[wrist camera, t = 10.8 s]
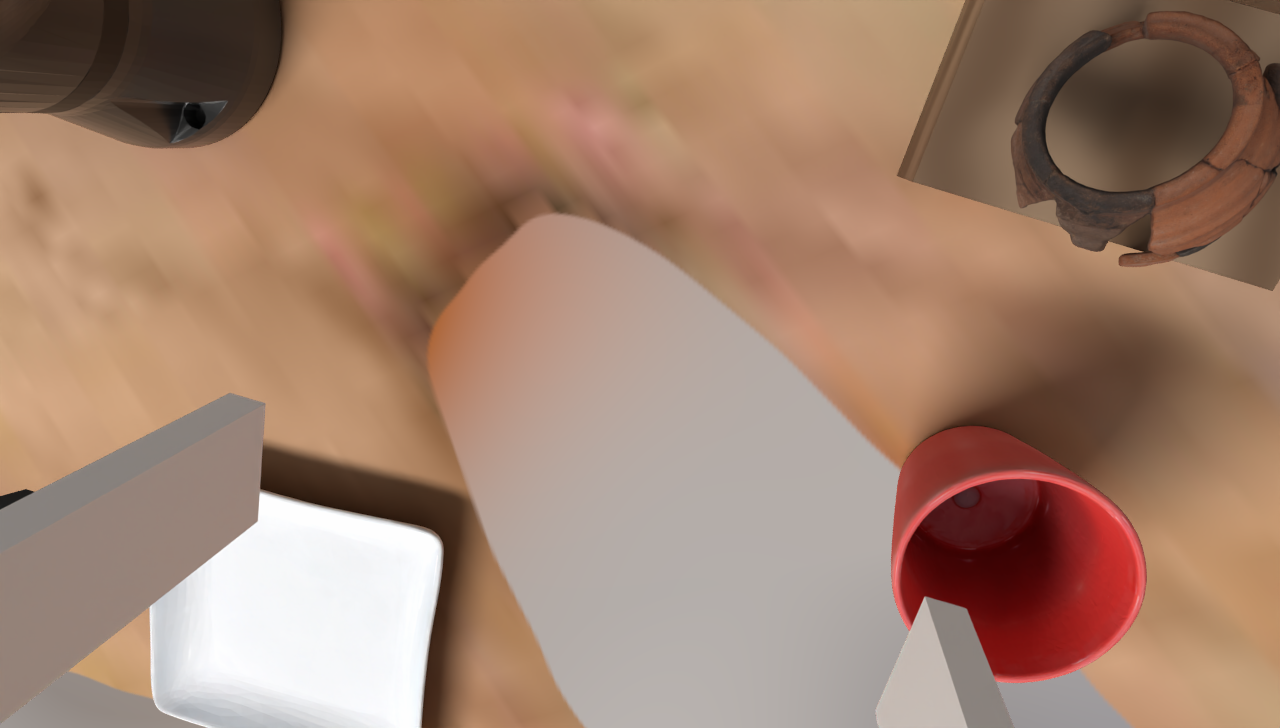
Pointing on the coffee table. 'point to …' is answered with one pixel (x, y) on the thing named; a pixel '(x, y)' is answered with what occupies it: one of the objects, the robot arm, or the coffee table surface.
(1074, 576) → the flower pot
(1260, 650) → the coffee table surface
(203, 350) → the coffee table surface
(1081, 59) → the pottery mug
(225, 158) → the coffee table surface
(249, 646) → the salad plate
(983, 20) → the walnut block
